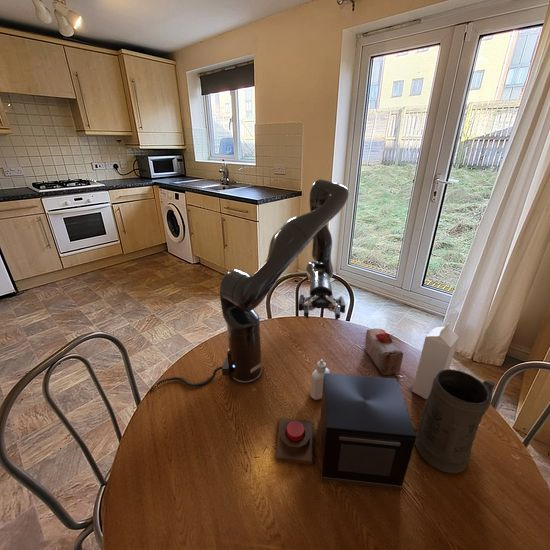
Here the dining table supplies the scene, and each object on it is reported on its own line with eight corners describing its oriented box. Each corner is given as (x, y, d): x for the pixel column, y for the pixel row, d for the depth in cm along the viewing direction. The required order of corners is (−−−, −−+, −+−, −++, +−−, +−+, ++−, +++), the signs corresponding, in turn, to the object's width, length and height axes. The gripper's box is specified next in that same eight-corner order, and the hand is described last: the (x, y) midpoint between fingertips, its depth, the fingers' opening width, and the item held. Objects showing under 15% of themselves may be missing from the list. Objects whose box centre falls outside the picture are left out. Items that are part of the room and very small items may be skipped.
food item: (360, 347, 99) (363, 323, 95) (382, 345, 100) (386, 321, 96) (379, 376, 87) (384, 350, 83) (404, 373, 88) (410, 347, 84)
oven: (321, 481, 61) (326, 428, 54) (320, 421, 73) (323, 373, 67) (401, 490, 59) (417, 437, 52) (385, 427, 72) (396, 378, 65)
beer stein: (444, 485, 60) (476, 413, 52) (402, 441, 68) (423, 374, 60) (486, 454, 66) (520, 387, 59) (443, 418, 75) (467, 355, 67)
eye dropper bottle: (331, 398, 80) (334, 364, 75) (311, 401, 79) (313, 367, 74) (326, 386, 84) (329, 353, 79) (307, 389, 83) (309, 355, 78)
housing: (275, 460, 65) (275, 451, 63) (280, 421, 74) (280, 412, 72) (311, 464, 64) (312, 455, 62) (312, 424, 73) (312, 415, 71)
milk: (442, 392, 82) (463, 326, 72) (433, 404, 78) (454, 336, 69) (420, 380, 86) (437, 316, 76) (411, 391, 82) (428, 325, 73)
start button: (285, 441, 66) (285, 435, 65) (287, 425, 70) (287, 420, 69) (303, 442, 66) (303, 437, 65) (304, 427, 69) (304, 422, 68)
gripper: (300, 279, 99) (297, 304, 84) (342, 281, 97) (348, 306, 82) (299, 299, 102) (297, 326, 87) (341, 300, 100) (345, 328, 86)
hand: (322, 316), depth 85 cm, fingers open, 8 cm apart
